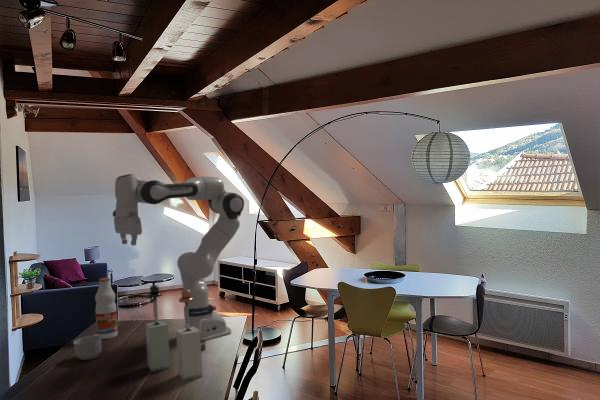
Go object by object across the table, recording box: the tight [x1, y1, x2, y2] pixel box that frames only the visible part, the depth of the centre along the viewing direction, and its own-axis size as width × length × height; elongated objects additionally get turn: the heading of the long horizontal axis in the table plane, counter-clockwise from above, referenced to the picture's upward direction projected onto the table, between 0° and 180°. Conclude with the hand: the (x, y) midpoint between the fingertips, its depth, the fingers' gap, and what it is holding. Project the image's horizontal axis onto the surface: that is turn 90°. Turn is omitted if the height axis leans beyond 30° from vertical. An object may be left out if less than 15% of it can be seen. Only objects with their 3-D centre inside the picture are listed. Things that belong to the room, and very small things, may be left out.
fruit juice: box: [94, 277, 119, 340], centre depth 236 cm, size 9×9×28 cm
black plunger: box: [147, 284, 163, 325], centre depth 192 cm, size 5×5×18 cm
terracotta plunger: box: [178, 289, 194, 332], centre depth 182 cm, size 5×5×18 cm
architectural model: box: [200, 333, 207, 351], centre depth 209 cm, size 3×7×7 cm, turn 119°
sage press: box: [145, 320, 171, 373], centre depth 192 cm, size 7×7×17 cm
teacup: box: [72, 334, 103, 361], centre depth 208 cm, size 14×11×8 cm
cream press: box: [175, 327, 203, 382], centre depth 182 cm, size 7×7×17 cm
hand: (129, 244), depth 210 cm, fingers open, 8 cm apart
